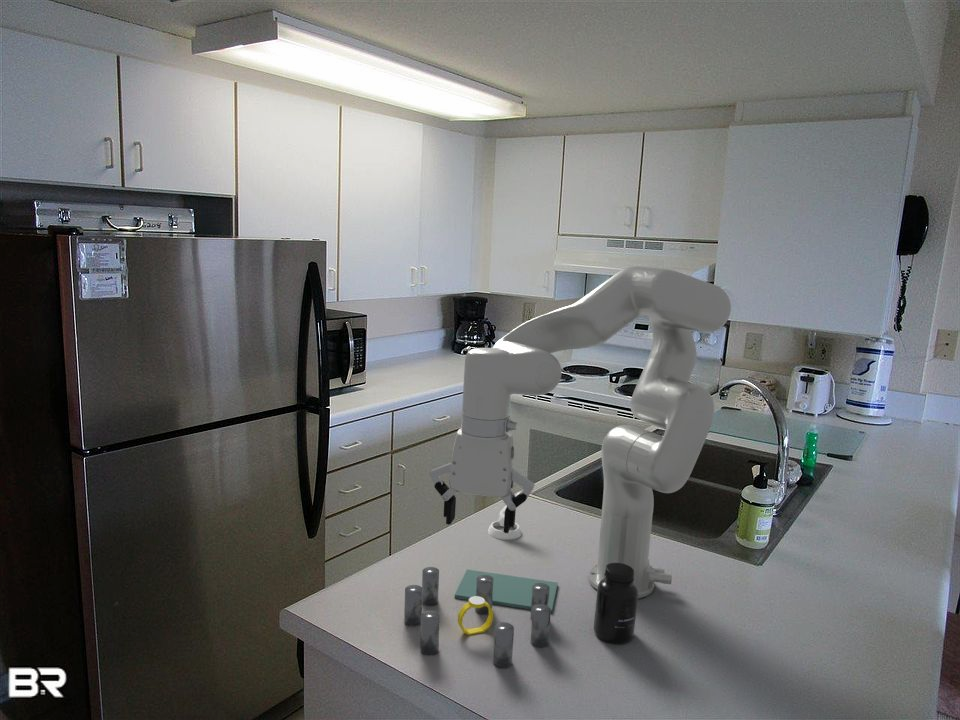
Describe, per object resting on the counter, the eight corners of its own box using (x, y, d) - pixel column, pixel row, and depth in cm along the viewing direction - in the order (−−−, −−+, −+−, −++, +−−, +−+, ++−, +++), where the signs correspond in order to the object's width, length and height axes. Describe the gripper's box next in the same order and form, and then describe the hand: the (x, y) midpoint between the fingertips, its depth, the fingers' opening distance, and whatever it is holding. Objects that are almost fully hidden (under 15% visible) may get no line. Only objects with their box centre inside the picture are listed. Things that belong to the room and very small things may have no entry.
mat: (557, 585, 132) (557, 582, 132) (551, 612, 122) (551, 609, 122) (466, 572, 135) (467, 569, 135) (454, 597, 126) (454, 594, 126)
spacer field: (553, 616, 121) (556, 585, 120) (542, 675, 105) (544, 639, 104) (419, 595, 126) (420, 565, 125) (387, 648, 110) (388, 614, 109)
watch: (487, 626, 118) (491, 594, 117) (493, 635, 115) (497, 602, 114) (454, 629, 116) (458, 597, 115) (460, 638, 113) (464, 605, 112)
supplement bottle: (625, 650, 112) (631, 583, 110) (587, 636, 116) (592, 570, 113) (639, 631, 118) (645, 566, 116) (602, 618, 121) (607, 555, 119)
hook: (545, 520, 149) (521, 504, 147) (511, 556, 153) (486, 541, 150) (540, 499, 156) (516, 485, 154) (506, 535, 159) (483, 520, 157)
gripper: (541, 425, 111) (533, 524, 114) (439, 413, 115) (434, 509, 118) (534, 438, 104) (526, 543, 107) (426, 425, 107) (421, 527, 110)
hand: (478, 525), depth 112 cm, fingers open, 9 cm apart
